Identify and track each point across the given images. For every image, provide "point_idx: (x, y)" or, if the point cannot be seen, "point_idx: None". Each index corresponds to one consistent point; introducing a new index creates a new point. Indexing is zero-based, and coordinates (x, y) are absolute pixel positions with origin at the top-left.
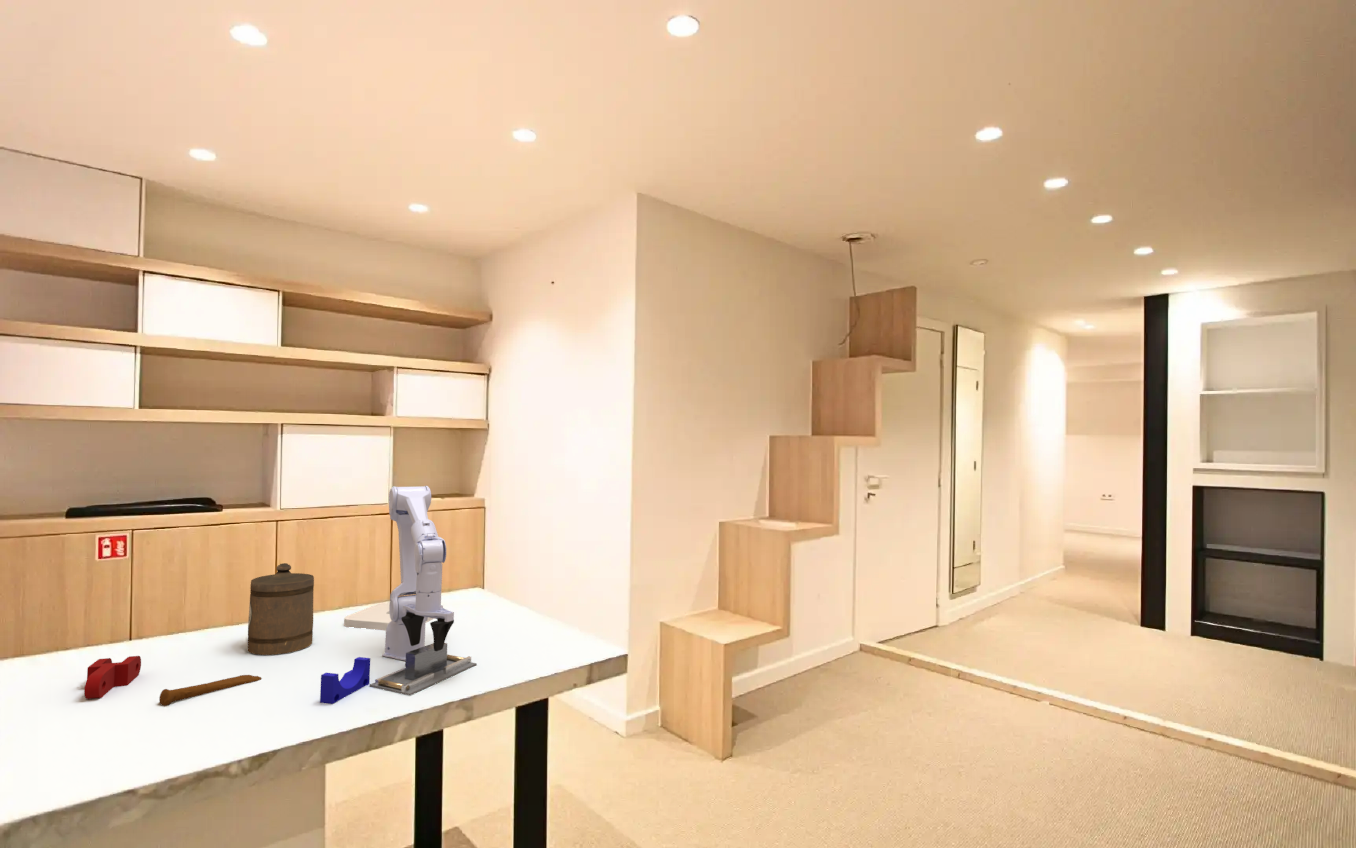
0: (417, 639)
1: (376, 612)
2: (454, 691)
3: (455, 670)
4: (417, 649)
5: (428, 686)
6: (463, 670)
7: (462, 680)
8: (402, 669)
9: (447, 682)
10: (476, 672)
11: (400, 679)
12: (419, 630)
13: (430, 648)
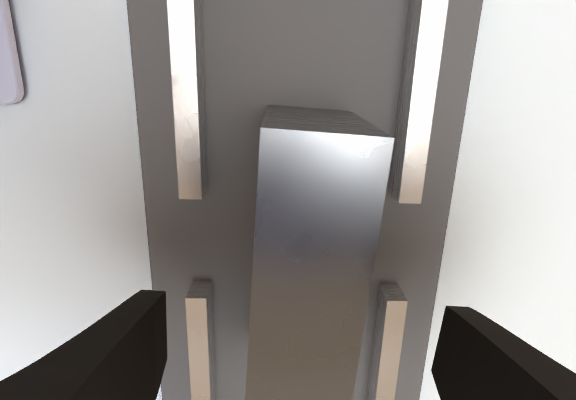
0: (149, 341)
1: None
2: (573, 333)
3: (432, 123)
4: (259, 381)
5: (424, 347)
6: (467, 82)
7: (539, 207)
8: (196, 330)
9: (475, 262)
10: (557, 61)
11: (241, 351)
12: (104, 384)
13: (344, 323)
